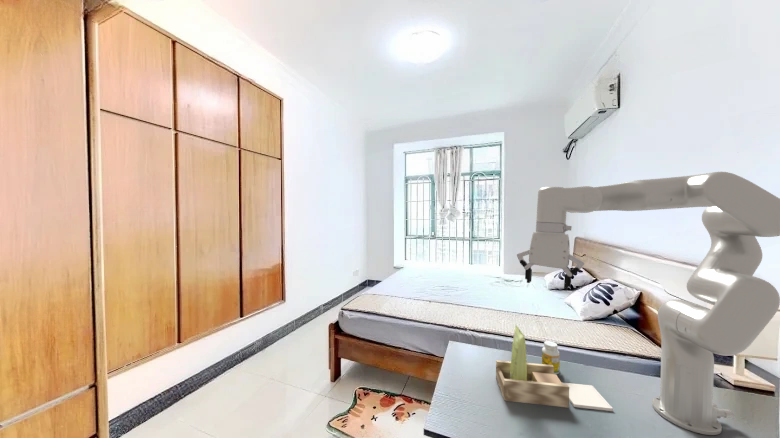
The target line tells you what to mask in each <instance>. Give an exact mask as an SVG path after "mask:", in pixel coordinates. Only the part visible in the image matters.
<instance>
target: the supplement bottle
mask: <svg viewBox="0 0 780 438" xmlns="http://www.w3.org/2000/svg"><path fill="white" fill-rule="evenodd" d="M560 358H561V357H560V351H559V350H558V344H557V343H556V342H554V341H550V340H545V341H543V347H542V348H541V364H546V365H553V367H554V374H556V375H559V374H560V372H561V371H560V368H561V367H560V366H561V365H560V364H561V363H560V361H561V360H560Z"/></svg>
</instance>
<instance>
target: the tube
mask: <svg viewBox="0 0 780 438" xmlns="http://www.w3.org/2000/svg"><path fill="white" fill-rule="evenodd" d="M511 348H512V349H511V358H510V361H511V369H510V379H513V380H523V381H527V363H528V362H527V349H526V348H527V345H526V338H525V334H524V333H523V332H522V330H521V329H520V328H519V326H518V325H517V324H516V323H515V327H514V333H513V339H512V346H511Z"/></svg>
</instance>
